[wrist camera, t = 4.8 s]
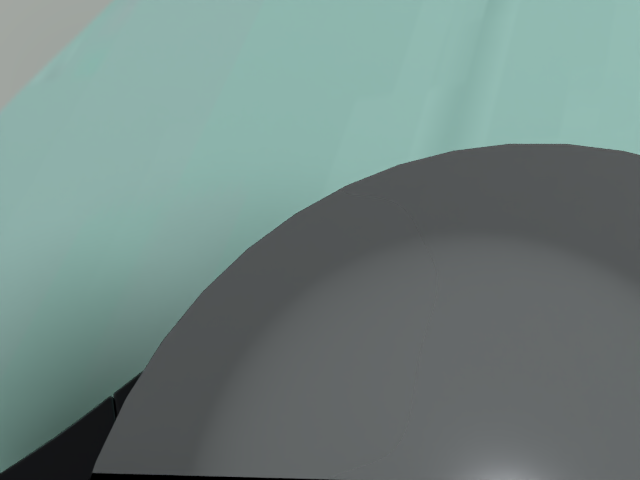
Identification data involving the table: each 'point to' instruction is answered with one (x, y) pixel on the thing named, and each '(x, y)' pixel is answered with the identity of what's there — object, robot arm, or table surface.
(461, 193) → the grey glossy round cylinder
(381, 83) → the table surface
